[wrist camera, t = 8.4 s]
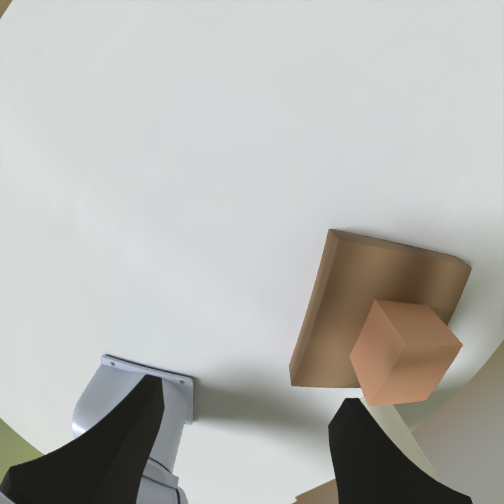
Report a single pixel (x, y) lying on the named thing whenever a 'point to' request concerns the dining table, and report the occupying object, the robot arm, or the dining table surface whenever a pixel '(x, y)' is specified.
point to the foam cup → (400, 435)
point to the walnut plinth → (366, 300)
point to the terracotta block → (402, 353)
